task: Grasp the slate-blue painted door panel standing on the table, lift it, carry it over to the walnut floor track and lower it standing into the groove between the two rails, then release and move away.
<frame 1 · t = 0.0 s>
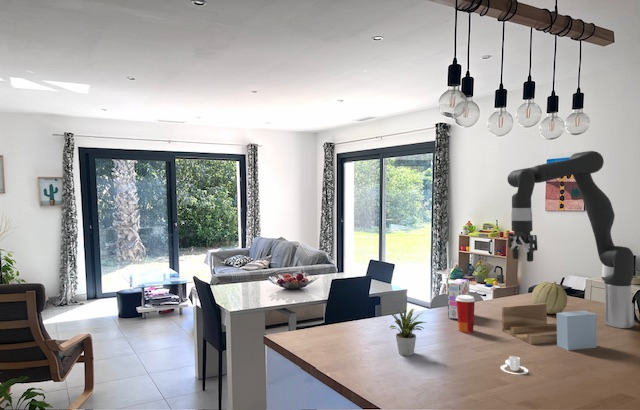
hand: (522, 260, 168), 29 cm above the counter, tool pointing down, fingers open, 8 cm apart
panel: (576, 346, 152), on the counter
cantaloupe: (549, 313, 198), on the counter
track: (543, 337, 163), on the counter
teacup and saucer: (522, 370, 133), on the counter
candy box: (459, 316, 195), on the counter
paper cup: (465, 331, 173), on the counter
house plant: (403, 354, 147), on the counter
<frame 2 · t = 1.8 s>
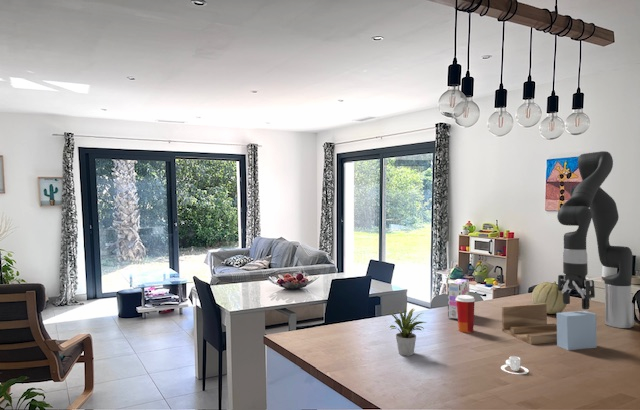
hand: (575, 306, 152), 14 cm above the counter, tool pointing down, fingers open, 8 cm apart
nothing on the counter moved.
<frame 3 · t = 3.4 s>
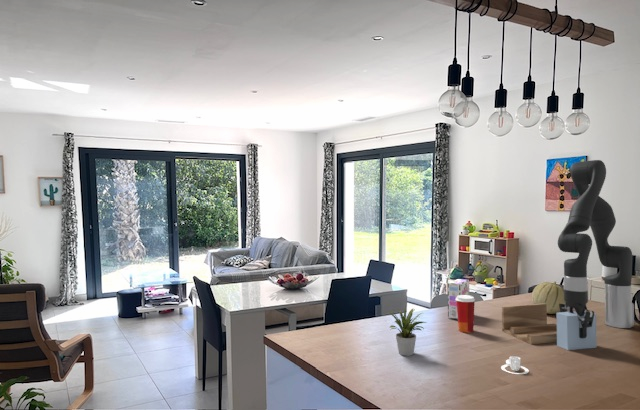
hand: (576, 335, 152), 4 cm above the counter, tool pointing down, fingers closed on panel, 5 cm apart
panel: (576, 346, 152), on the counter, touching gripper
everything else where it was.
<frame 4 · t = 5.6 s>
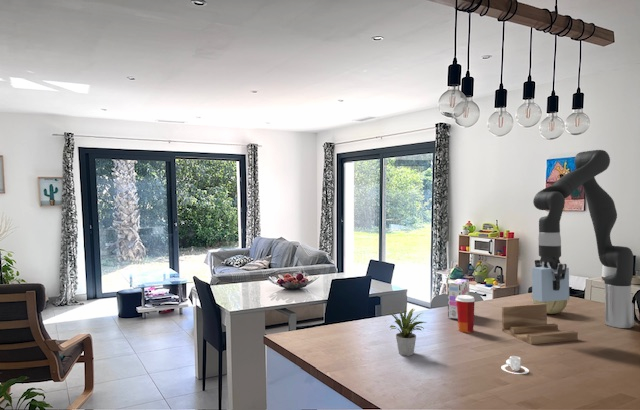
hand: (550, 288, 160), 19 cm above the counter, tool pointing down, fingers closed on panel, 5 cm apart
panel: (550, 299, 160), point 15 cm above the counter, touching gripper
everything else where it was.
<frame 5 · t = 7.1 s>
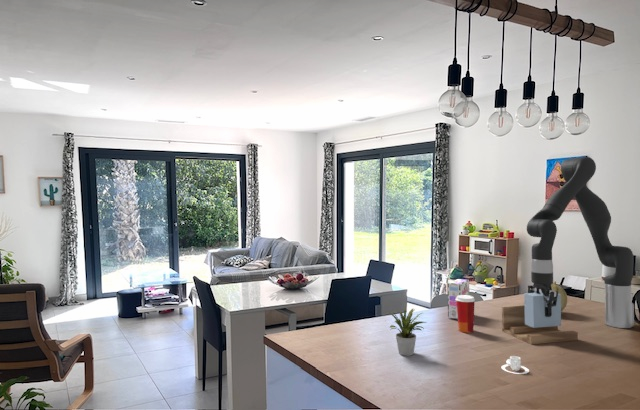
hand: (542, 314, 163), 9 cm above the counter, tool pointing down, fingers closed on panel, 5 cm apart
panel: (542, 324, 163), point 5 cm above the counter, touching gripper
everything else where it was.
when the fingers open (5 cm above the counter, at t = 8.3 s): panel stays where it is, resting on track.
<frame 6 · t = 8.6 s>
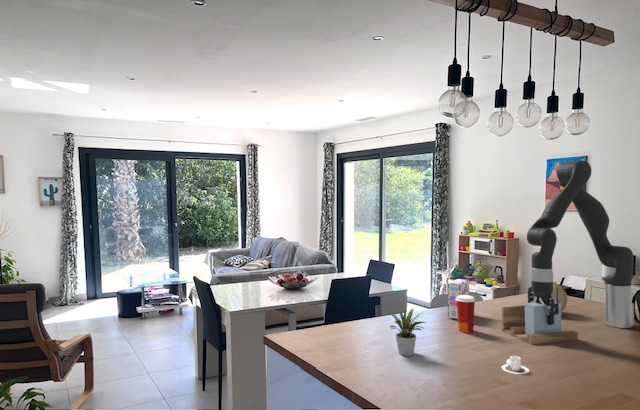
hand: (542, 322, 163), 6 cm above the counter, tool pointing down, fingers open, 7 cm apart
panel: (543, 334, 163), point 1 cm above the counter, touching track
everything else where it was.
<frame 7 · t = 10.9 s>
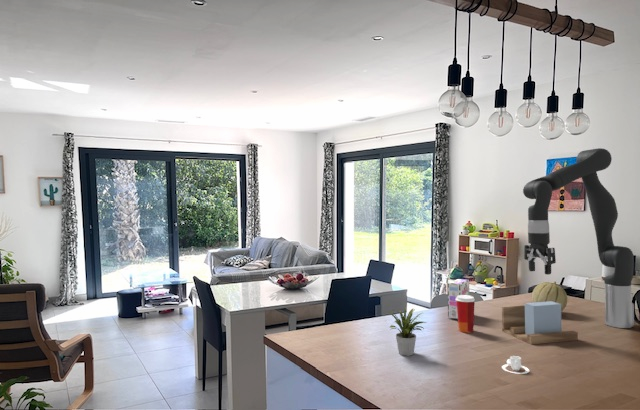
hand: (539, 272, 166), 24 cm above the counter, tool pointing down, fingers open, 8 cm apart
nothing on the counter moved.
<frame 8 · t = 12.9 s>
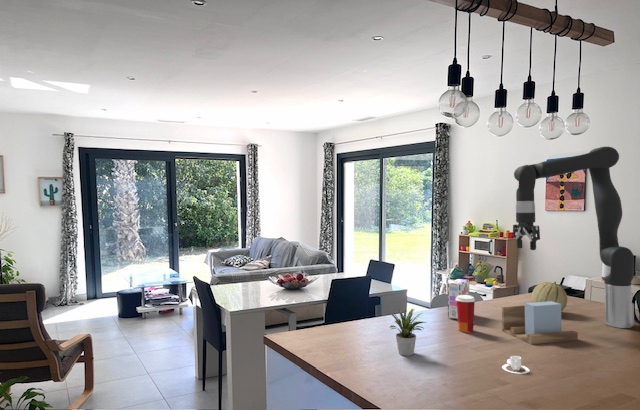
hand: (526, 249, 182), 32 cm above the counter, tool pointing down, fingers open, 8 cm apart
nothing on the counter moved.
at the end: panel inside the target area on the track (0.1 cm from its centre), point 1.0 cm above the track's base; panel tilted 0°; the gripper is holding nothing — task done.
